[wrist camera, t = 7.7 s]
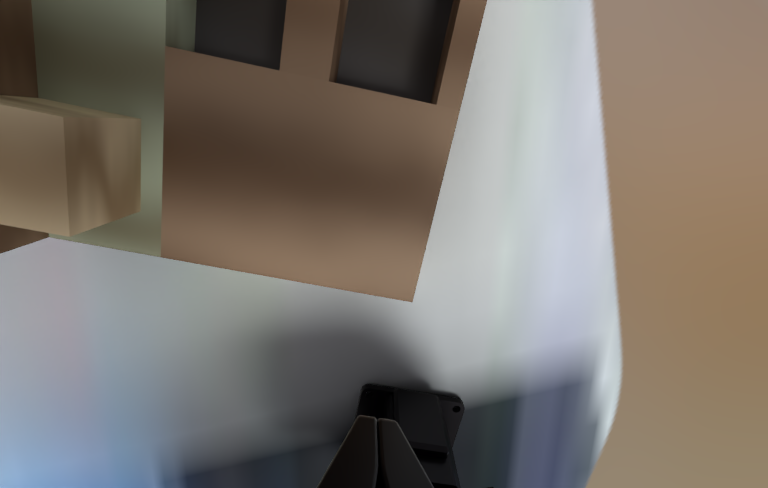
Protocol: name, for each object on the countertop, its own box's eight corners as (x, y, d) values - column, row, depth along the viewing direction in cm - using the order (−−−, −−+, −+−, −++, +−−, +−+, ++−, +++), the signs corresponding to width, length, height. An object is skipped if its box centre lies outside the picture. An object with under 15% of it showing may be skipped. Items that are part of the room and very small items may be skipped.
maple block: (140, 211, 17) (69, 237, 13) (47, 193, 16) (-54, 214, 13) (141, 118, 16) (63, 117, 12) (40, 98, 15) (-73, 89, 11)
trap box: (407, 278, 21) (418, 335, 15) (77, 217, 20) (-47, 255, 14) (481, -29, 17) (533, -109, 11) (59, -131, 15) (-130, -283, 10)
